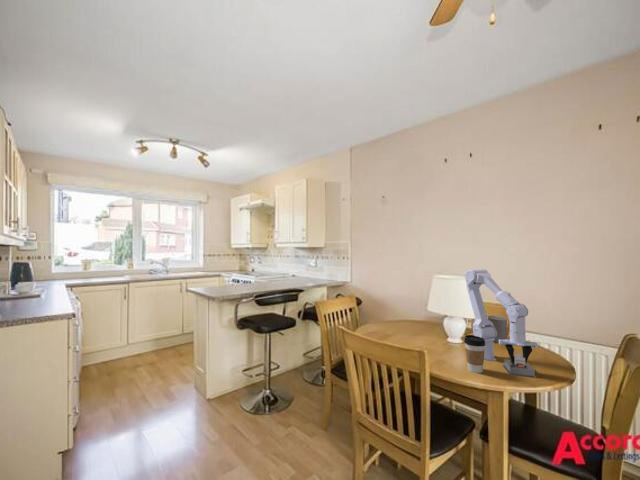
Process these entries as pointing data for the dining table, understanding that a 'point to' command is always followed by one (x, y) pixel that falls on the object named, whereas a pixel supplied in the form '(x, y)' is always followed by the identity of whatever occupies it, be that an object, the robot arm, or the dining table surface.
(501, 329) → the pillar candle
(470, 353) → the coffee cup
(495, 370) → the dining table surface
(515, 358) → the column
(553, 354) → the dining table surface
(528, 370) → the stand base
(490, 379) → the dining table surface
